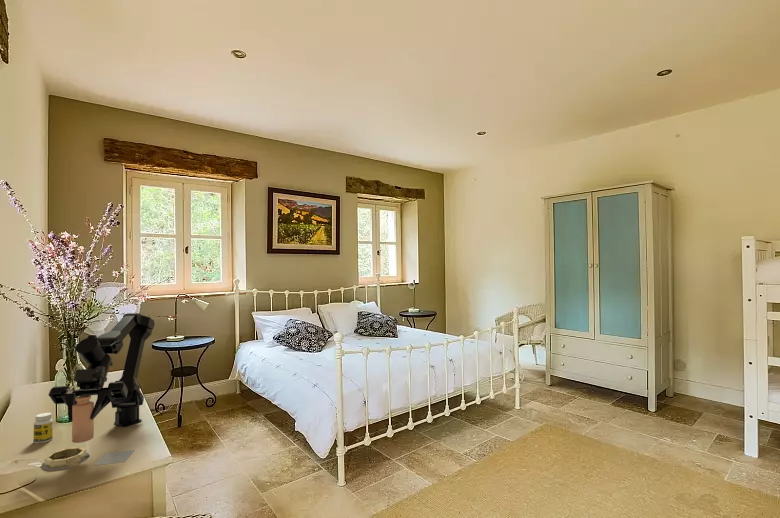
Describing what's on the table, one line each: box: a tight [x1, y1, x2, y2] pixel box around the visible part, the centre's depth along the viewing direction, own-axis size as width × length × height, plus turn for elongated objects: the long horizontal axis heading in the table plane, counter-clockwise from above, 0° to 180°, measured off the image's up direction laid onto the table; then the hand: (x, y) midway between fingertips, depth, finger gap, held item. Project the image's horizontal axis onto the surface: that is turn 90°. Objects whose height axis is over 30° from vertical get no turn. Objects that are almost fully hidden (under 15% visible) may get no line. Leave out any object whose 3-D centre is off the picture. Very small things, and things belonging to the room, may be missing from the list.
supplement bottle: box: [32, 412, 54, 445], centre depth 133 cm, size 5×5×8 cm
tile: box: [92, 449, 136, 466], centre depth 120 cm, size 8×8×1 cm
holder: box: [40, 446, 91, 472], centre depth 118 cm, size 11×11×3 cm
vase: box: [71, 395, 95, 444], centre depth 119 cm, size 5×5×12 cm
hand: (80, 419), depth 117 cm, fingers closed on vase, 5 cm apart
